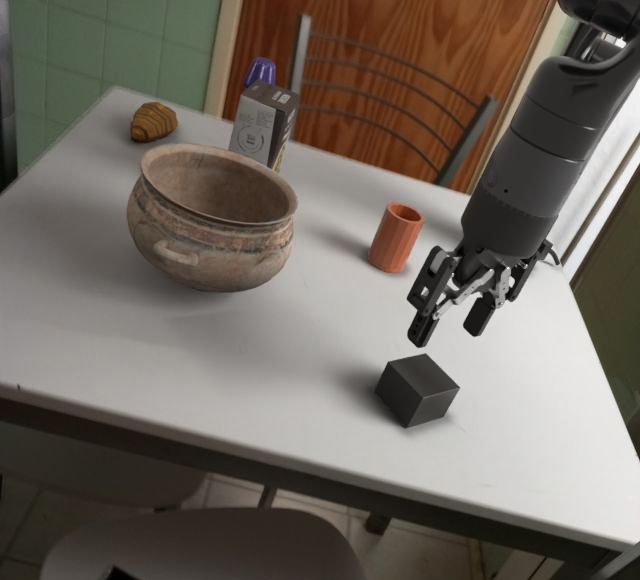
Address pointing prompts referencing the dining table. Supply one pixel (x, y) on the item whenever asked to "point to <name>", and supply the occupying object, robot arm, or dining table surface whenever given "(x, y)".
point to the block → (416, 390)
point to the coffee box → (264, 123)
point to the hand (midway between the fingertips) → (443, 337)
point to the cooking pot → (211, 217)
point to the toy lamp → (260, 72)
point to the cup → (395, 237)
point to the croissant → (152, 123)
